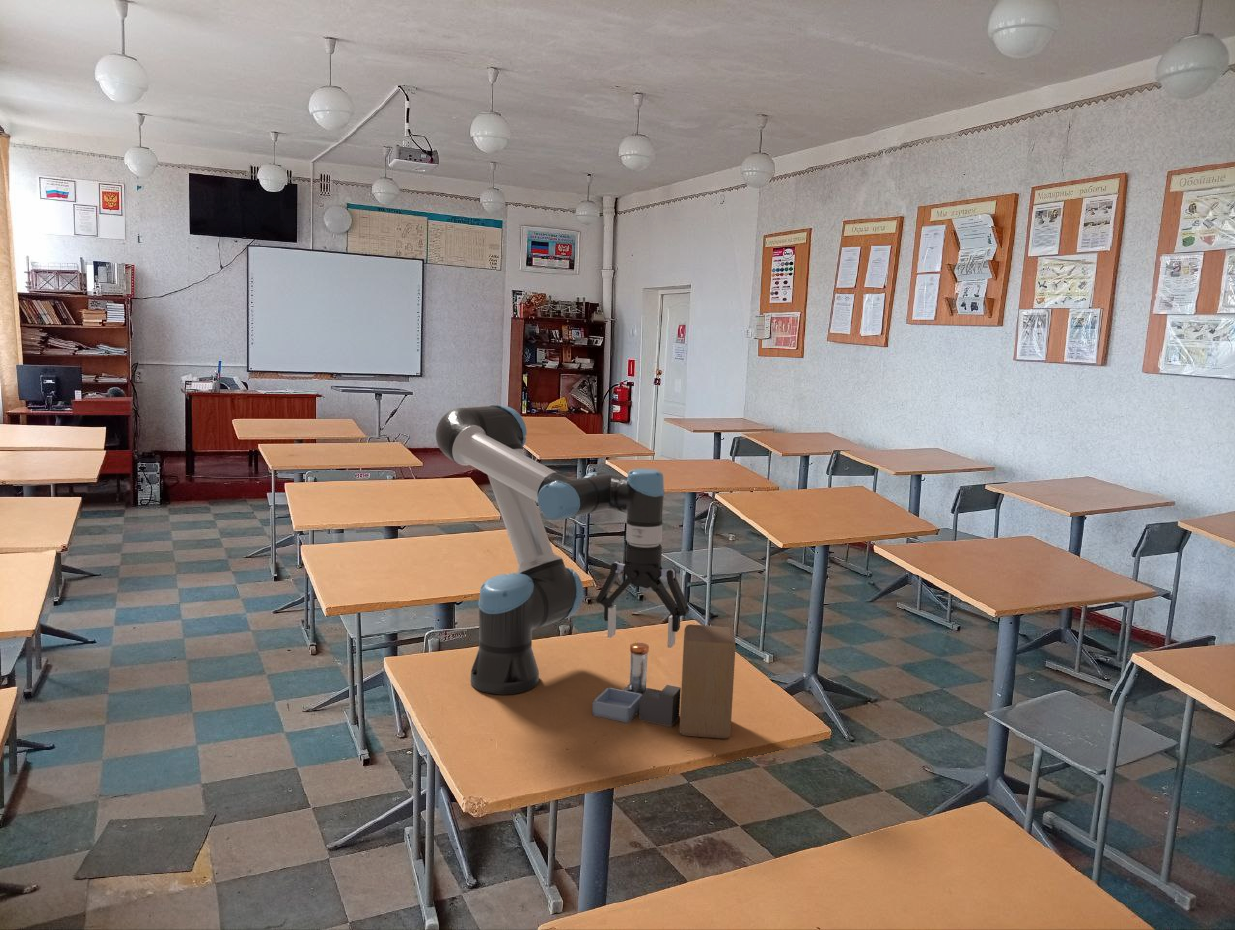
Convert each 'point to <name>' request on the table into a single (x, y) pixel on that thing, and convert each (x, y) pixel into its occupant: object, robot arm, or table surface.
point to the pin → (638, 667)
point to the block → (707, 681)
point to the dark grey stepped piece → (660, 705)
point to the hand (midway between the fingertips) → (640, 640)
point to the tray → (617, 705)
